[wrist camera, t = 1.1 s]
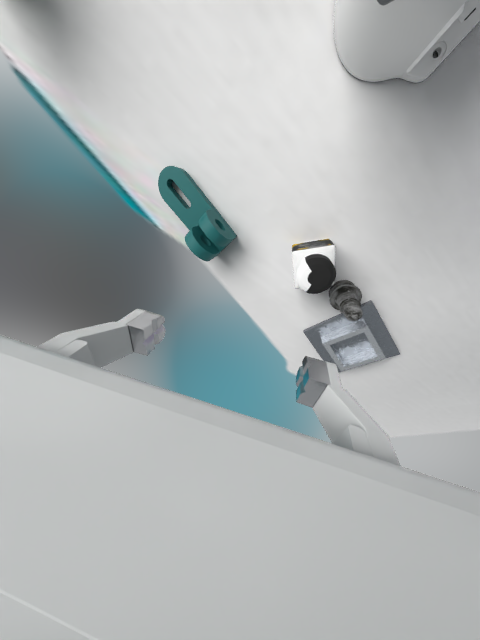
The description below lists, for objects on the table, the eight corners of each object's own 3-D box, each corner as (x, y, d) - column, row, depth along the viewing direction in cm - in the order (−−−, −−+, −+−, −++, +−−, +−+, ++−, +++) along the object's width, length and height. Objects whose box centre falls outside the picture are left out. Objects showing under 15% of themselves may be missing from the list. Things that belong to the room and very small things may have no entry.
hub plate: (371, 300, 41) (377, 308, 38) (398, 351, 46) (406, 362, 43) (303, 330, 49) (304, 339, 46) (332, 371, 54) (334, 382, 51)
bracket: (237, 235, 41) (226, 242, 35) (216, 255, 45) (203, 264, 38) (176, 158, 37) (151, 149, 30) (159, 187, 40) (132, 184, 34)
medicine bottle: (329, 238, 37) (342, 251, 27) (328, 273, 41) (339, 296, 31) (292, 244, 40) (291, 258, 30) (294, 277, 43) (294, 300, 33)
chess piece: (343, 308, 44) (357, 338, 34) (321, 295, 44) (329, 323, 34) (363, 287, 40) (385, 314, 31) (340, 273, 40) (354, 297, 30)
